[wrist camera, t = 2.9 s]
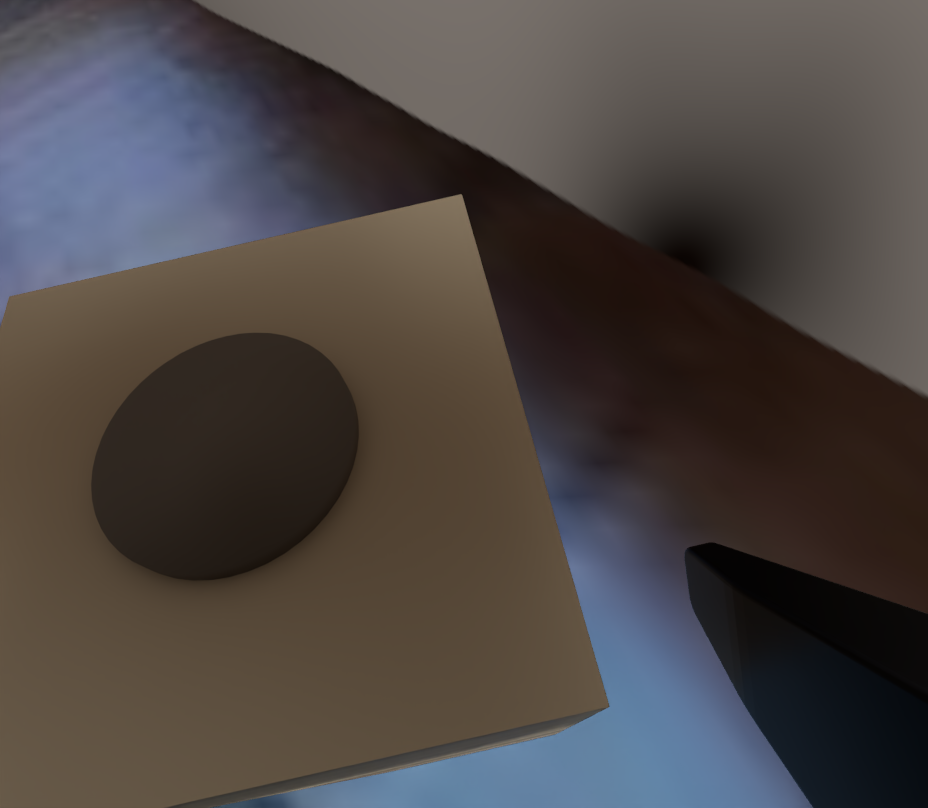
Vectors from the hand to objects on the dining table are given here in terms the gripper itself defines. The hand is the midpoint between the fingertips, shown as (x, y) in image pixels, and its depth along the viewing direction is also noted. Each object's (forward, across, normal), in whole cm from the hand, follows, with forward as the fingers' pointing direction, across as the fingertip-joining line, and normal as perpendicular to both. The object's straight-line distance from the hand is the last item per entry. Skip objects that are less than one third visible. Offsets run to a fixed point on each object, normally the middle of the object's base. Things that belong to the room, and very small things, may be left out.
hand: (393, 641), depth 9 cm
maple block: (+7, 0, +6) cm, 9 cm away
